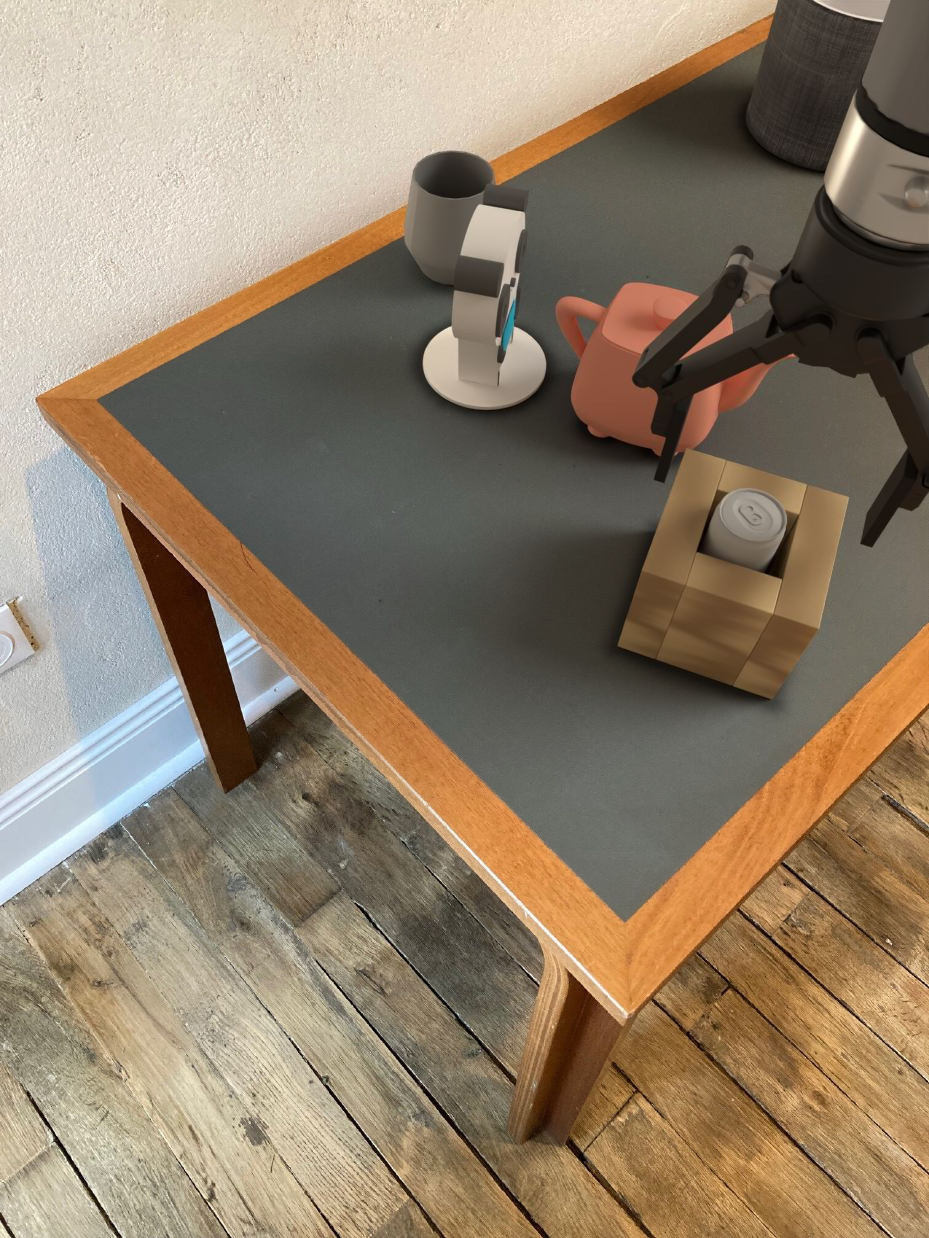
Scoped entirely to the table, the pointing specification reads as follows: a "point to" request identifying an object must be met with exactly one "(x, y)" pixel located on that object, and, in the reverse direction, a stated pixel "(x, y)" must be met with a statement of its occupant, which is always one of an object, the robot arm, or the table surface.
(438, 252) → the cup
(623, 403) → the teapot
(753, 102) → the planter
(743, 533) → the beverage can
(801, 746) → the table surface
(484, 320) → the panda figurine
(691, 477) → the wooden box
